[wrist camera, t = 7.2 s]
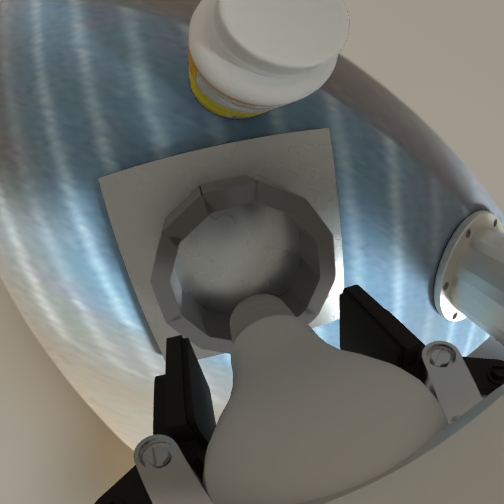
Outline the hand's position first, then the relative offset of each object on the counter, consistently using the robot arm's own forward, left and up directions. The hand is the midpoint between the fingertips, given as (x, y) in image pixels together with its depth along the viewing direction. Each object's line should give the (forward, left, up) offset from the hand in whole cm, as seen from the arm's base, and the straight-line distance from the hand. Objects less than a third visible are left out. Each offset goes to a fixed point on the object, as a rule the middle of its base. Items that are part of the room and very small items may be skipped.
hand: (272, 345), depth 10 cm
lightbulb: (0, 0, -3) cm, 3 cm away
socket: (0, 0, -10) cm, 10 cm away
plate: (0, 0, -10) cm, 10 cm away
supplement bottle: (-2, -11, -10) cm, 15 cm away
